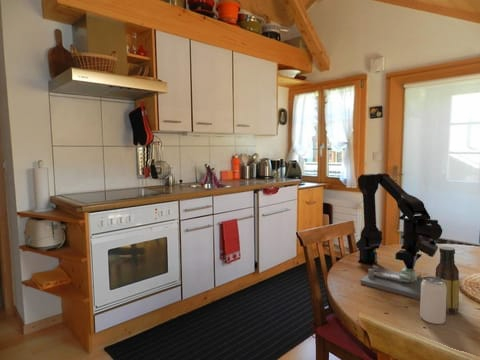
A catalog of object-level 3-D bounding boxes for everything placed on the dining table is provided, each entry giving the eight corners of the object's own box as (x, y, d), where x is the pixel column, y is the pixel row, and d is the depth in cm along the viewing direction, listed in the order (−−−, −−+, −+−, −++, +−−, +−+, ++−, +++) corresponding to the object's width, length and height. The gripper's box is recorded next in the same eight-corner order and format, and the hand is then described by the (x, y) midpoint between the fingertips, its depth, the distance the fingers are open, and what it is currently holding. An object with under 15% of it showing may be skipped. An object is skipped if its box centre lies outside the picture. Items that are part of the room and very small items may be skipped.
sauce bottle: (453, 305, 102) (455, 245, 101) (462, 315, 96) (465, 251, 95) (431, 304, 104) (433, 244, 102) (438, 313, 98) (441, 250, 96)
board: (360, 283, 121) (360, 272, 120) (376, 270, 133) (376, 260, 133) (426, 301, 106) (426, 288, 106) (437, 284, 118) (437, 273, 118)
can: (436, 327, 90) (438, 286, 89) (415, 317, 96) (416, 278, 95) (450, 321, 93) (451, 281, 92) (428, 311, 99) (429, 274, 98)
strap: (370, 275, 124) (370, 272, 124) (373, 273, 126) (373, 270, 126) (408, 282, 115) (408, 279, 115) (411, 280, 117) (410, 277, 117)
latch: (398, 281, 117) (398, 272, 117) (403, 276, 122) (403, 267, 122) (410, 284, 115) (410, 275, 114) (415, 279, 119) (415, 269, 119)
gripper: (430, 242, 108) (429, 286, 109) (441, 231, 122) (440, 270, 123) (395, 236, 115) (394, 278, 117) (409, 227, 129) (408, 264, 131)
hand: (410, 273), depth 122 cm, fingers closed
